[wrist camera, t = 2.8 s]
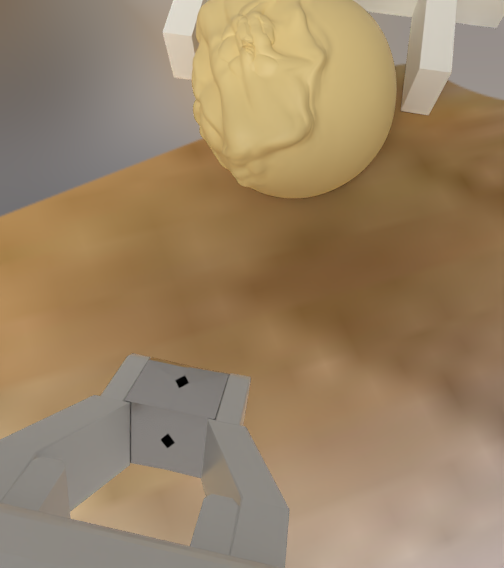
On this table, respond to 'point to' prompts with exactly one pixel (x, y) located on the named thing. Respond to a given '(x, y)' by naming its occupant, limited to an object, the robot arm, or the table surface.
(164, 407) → the robot arm
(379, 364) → the table surface
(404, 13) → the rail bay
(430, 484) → the table surface
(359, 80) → the sculpture
